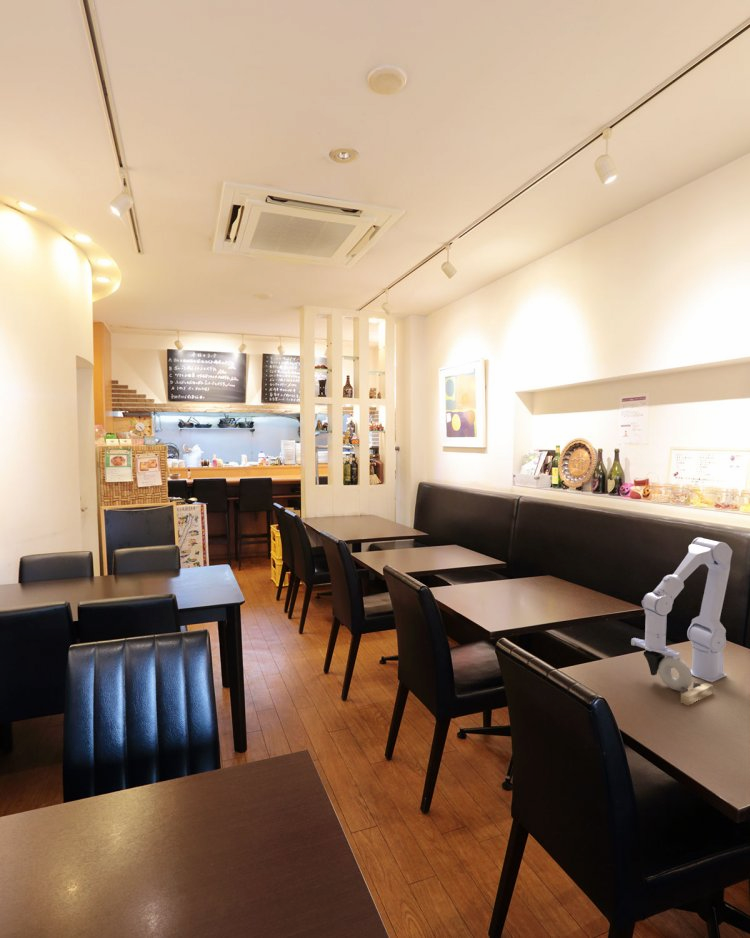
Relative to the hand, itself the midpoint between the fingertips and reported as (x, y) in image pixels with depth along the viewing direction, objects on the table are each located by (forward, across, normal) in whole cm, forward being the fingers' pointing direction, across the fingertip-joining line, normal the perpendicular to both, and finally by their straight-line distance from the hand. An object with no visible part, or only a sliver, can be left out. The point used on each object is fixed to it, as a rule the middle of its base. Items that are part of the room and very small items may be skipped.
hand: (653, 674), depth 164 cm
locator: (+2, +12, 0) cm, 12 cm away
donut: (+2, +6, 0) cm, 7 cm away
